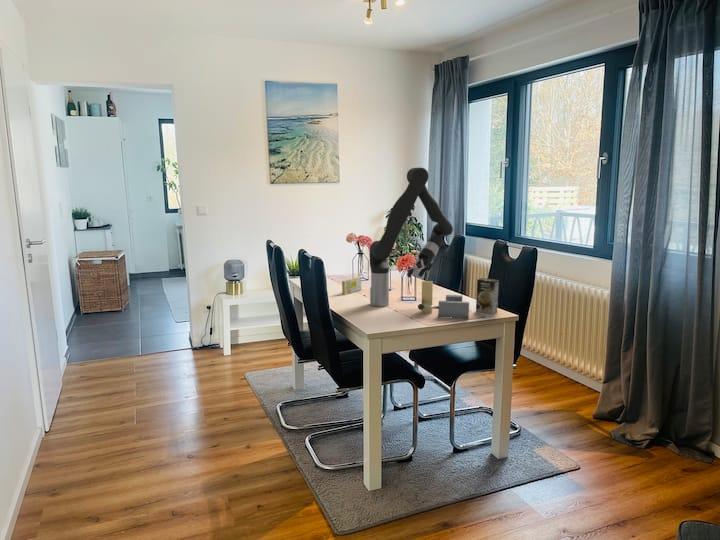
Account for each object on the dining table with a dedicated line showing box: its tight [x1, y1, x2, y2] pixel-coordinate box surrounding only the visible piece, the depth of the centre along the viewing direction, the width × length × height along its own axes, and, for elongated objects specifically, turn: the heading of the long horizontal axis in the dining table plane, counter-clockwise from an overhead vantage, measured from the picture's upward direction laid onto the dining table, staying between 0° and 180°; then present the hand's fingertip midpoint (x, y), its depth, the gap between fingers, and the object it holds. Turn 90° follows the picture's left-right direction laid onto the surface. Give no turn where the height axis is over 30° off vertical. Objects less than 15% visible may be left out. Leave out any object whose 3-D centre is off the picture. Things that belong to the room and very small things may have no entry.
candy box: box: [341, 276, 362, 296], centre depth 310 cm, size 16×2×8 cm, turn 144°
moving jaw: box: [445, 294, 463, 302], centre depth 266 cm, size 8×4×8 cm, turn 80°
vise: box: [417, 300, 470, 320], centre depth 261 cm, size 24×15×8 cm, turn 80°
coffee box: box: [475, 277, 500, 315], centre depth 264 cm, size 9×6×16 cm
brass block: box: [420, 280, 434, 314], centre depth 264 cm, size 5×5×15 cm
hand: (413, 276), depth 271 cm, fingers open, 8 cm apart
